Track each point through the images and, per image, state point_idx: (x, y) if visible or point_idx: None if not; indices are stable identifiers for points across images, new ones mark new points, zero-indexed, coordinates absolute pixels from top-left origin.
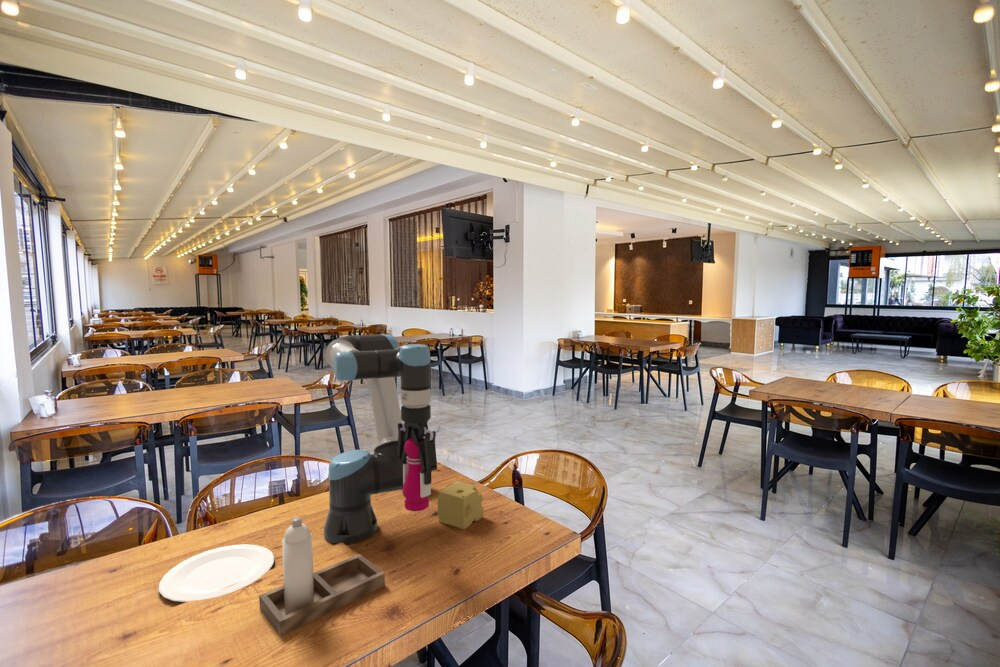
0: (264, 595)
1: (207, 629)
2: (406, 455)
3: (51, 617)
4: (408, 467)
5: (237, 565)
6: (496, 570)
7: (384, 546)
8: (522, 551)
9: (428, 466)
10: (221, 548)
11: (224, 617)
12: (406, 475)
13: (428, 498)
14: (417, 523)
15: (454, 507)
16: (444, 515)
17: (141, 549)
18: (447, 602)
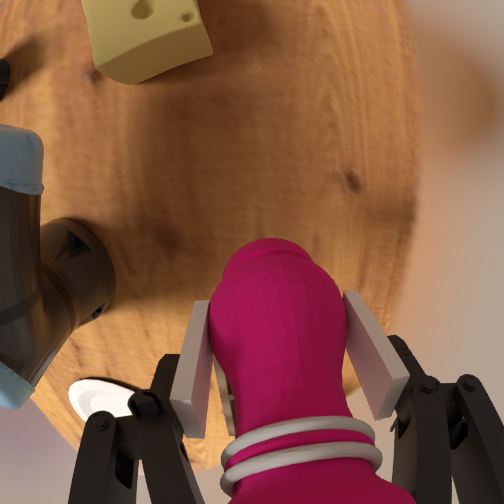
0: (233, 433)
1: (222, 440)
2: (196, 483)
3: (138, 467)
4: (200, 402)
5: (113, 405)
6: (402, 125)
7: (157, 246)
8: (384, 39)
9: (457, 433)
10: (73, 402)
11: (212, 432)
12: (207, 378)
13: (296, 252)
14: (107, 134)
15: (169, 49)
16: (146, 74)
17: (52, 421)
18: (402, 253)
